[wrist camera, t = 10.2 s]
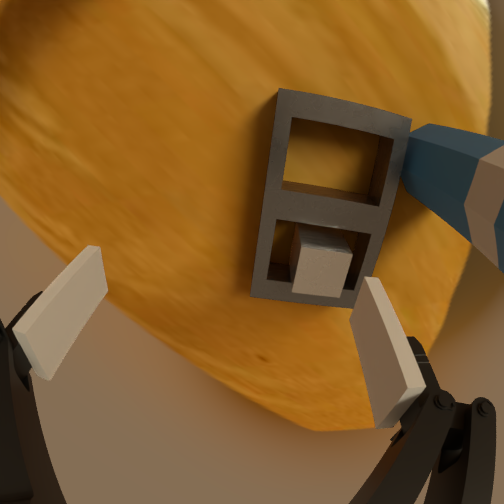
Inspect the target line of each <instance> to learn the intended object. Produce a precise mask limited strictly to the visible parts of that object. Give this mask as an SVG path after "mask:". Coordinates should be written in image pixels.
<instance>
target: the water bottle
mask: <svg viewBox="0 0 504 504" xmlns="http://www.w3.org/2000/svg"><path fill="white" fill-rule="evenodd" d="M401 178H402V181H403V183H404V186H405V188H406V191H407V192H408V193H409V194H410V195H412V196H413V197H415V198H416V199H417V200H419V201H420V202H421V203H423V204H424V205H425V206H427V207H428V208H429V209H430V210H432V211H433V212H434V213H436V214H437V215H438V216H439V217H441V218H442V219H443V220H444V221H446V222H447V223H448V224H449V225H450V226H452V227H453V228H454V229H455V230H457V231H458V232H459V233H460V234H461V235H462V236H464V237H465V238H466V239H467V240H468V241H469V242H470V243H472V244H473V245H474V246H475V247H476V248H477V249H478V250H479V251H481V252H482V253H483V254H484V255H485V256H486V257H487V258H488V259H489V260H490V261H491V262H493V264H494V265H496V266H497V267H498V268H499V269H500V270H501V271H502V272H503V273H504V141H503V140H500V139H496V138H492V137H489V136H485V135H481V134H477V133H473V132H469V131H464V130H460V129H455V128H450V127H445V126H440V125H435V124H427V125H425V126H423V127H421V128H419V129H417V130H415V131H413V132H411V133H409V138H408V143H407V148H406V153H405V158H404V162H403V167H402V171H401Z"/></svg>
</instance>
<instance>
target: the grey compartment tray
mask: <svg viewBox="0 0 504 504" xmlns="http://www.w3.org/2000/svg"><path fill="white" fill-rule="evenodd" d="M292 117H296V118H302V119H308V120H313V121H319V122H324V123H329V124H334V125H339V126H343V127H348V128H352V129H357V130H361V131H365V132H369V133H373V134H377V135H381V136H380V141H379V147H378V152H377V157H376V161H375V166H374V171H373V176H372V180H371V184H370V189H369V193H368V195H363V194H358V193H353V192H348V191H342V190H337V189H332V188H326V187H320V186H314V185H308V184H302V183H296V182H289V181H283V174H284V167H285V161H286V154H287V148H288V141H289V134H290V127H291V120H292ZM411 121H412V119H410V118H407V117H404V116H401V115H398V114H395V113H391V112H388V111H384V110H381V109H377V108H374V107H370V106H366V105H362V104H358V103H354V102H350V101H346V100H341V99H337V98H332V97H327V96H322V95H317V94H312V93H306V92H300V91H294V90H288V89H281V88H279V90H278V96H277V103H276V111H275V118H274V125H273V133H272V140H271V147H270V154H269V162H268V169H267V176H266V183H265V191H264V198H263V205H262V212H261V219H260V227H259V234H258V241H257V248H256V255H255V262H254V269H253V276H252V284H251V292H250V297H257V298H264V299H272V300H280V301H288V302H296V303H305V304H313V305H322V306H332V307H341V308H351V309H354V306H355V303H356V300H357V297H358V294H359V291H360V288H361V285H362V282H363V279H364V277H371V276H372V273H373V270H374V267H375V264H376V261H377V258H378V255H379V252H380V249H381V245H382V242H383V239H384V236H385V232H386V229H387V225H388V222H389V218H390V215H391V211H392V208H393V204H394V200H395V196H396V192H397V188H398V184H399V180H400V176H401V171H402V167H403V162H404V158H405V153H406V148H407V143H408V138H409V133H410V127H411ZM276 219H280V220H287V221H293V222H300V223H307V224H313V225H320V226H326V227H332V228H339V229H345V230H351V231H357V232H359V233H358V236H357V240H356V244H355V247H354V251H353V256H352V259H351V262H350V266H349V269H348V273H347V276H346V279H345V282H344V286H343V289H342V292H341V295H340V298H337V297H328V296H319V295H310V294H302V293H293V292H292V289H291V276H290V265H286V264H279V263H272V262H269V261H270V255H271V249H272V243H273V237H274V231H275V225H276Z"/></svg>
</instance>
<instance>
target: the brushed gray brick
mask: <svg viewBox="0 0 504 504" xmlns="http://www.w3.org/2000/svg"><path fill="white" fill-rule="evenodd" d="M352 256H353V254H352V252H351V250H350V247H349V245H348V243H347V241H346V239H345V237H344V235H343V233H342V231H341V229H339V228H332V227H326V226H320V225H313V224H307V223H300V222H296V225H295V231H294V236H293V241H292V247H291V252H290V257H289V264H290V276H291V289H292V292H293V293H302V294H310V295H319V296H328V297H337V298H340V295H341V292H342V289H343V286H344V282H345V279H346V276H347V273H348V269H349V266H350V262H351V259H352Z"/></svg>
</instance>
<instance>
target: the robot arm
mask: <svg viewBox="0 0 504 504" xmlns="http://www.w3.org/2000/svg"><path fill="white" fill-rule="evenodd" d="M107 292H108V288H107V283H106V278H105V272H104V267H103V261H102V255H101V249H100V247H98V246H90V245H88V246H87V247H86V248H85V249H84V250H83V251H82V252H81V253H80V254H79V255H78V256H77V257H76V258H75V259H74V260H73V261H72V262H71V263H70V264H69V265H68V266H67V267H66V268H65V269H64V270H63V271H62V272H61V273H60V274H59V276H58V277H57V278H56V279H55V280H54V281H53V282H52V283H51V284H50V285H49V286H48V287H47V288H46V290H45V291H44V292H43V291H41V292H39V293H38V294H36V295H34V296H33V297H32V298H31V299H30V300H29V301H28V302H27V303H26V305H25V306H24V307H23V308H22V309H21V311H20V312H19V313H18V314H17V315H16V316H15V317H14V319H13V320H12V321H11V322H10V323H9V325H8V326H7V327H6V328H4V326H3V323H2V321H1V319H0V504H67V503H66V501H65V499H64V496H63V494H62V491H61V489H60V486H59V483H58V481H57V478H56V475H55V473H54V469H53V466H52V464H51V460H50V457H49V454H48V450H47V447H46V444H45V440H44V436H43V433H42V429H41V425H40V420H39V416H38V411H37V407H36V402H35V397H34V392H33V385H32V379H31V376H30V374H29V370H30V369H31V368H33V370H34V371H35V373H36V375H37V376H39V377H41V378H43V379H46V380H48V381H50V380H51V379H52V377H53V375H54V373H55V372H56V370H57V368H58V367H59V365H60V363H61V361H62V360H63V358H64V357H65V355H66V354H67V352H68V350H69V349H70V347H71V346H72V344H73V342H74V341H75V339H76V338H77V336H78V335H79V333H80V331H81V330H82V328H83V327H84V325H85V324H86V322H87V321H88V319H89V318H90V316H91V315H92V313H93V312H94V310H95V309H96V307H97V306H98V305H99V303H100V302H101V300H102V299H103V298H104V296H105V295H106V293H107ZM349 320H350V324H351V328H352V331H353V335H354V338H355V342H356V346H357V350H358V354H359V357H360V361H361V365H362V369H363V373H364V377H365V382H366V386H367V390H368V394H369V399H370V403H371V408H372V412H373V417H374V422H375V427H376V429H381V428H391V427H394V425H395V424H396V423H397V422H398V421H399V420H400V423H401V426H402V427H401V429H400V430H399V431H398V432H397V433H396V434H395V435H394V436H393V437H392V438H391V439H390V440H391V441H392V442H391V444H390V446H389V447H388V449H387V450H386V452H385V454H384V455H383V457H382V458H381V460H380V461H379V463H378V464H377V466H376V467H375V469H374V470H373V472H372V473H371V475H370V476H369V478H368V479H367V480H366V482H365V483H364V484H363V486H362V487H361V488H360V490H359V491H358V492H357V494H356V495H355V496H354V498H353V499H352V500H351V501H350V503H349V504H414V502H415V501H416V499H417V497H418V495H419V493H420V492H421V490H422V488H423V486H424V484H425V482H426V480H427V478H428V476H429V474H430V472H431V470H432V473H431V477H430V482H429V486H428V490H427V493H426V497H425V501H424V504H491V497H492V490H493V481H494V471H495V456H496V411H495V407H494V406H493V404H492V403H491V402H490V401H489V400H488V399H486V398H483V397H479V398H476V399H475V400H474V401H473V402H472V404H464V403H458V402H455V399H454V398H453V396H452V395H451V394H449V393H448V392H447V391H444V390H441V389H440V387H439V384H438V381H437V379H436V377H435V374H434V372H433V369H432V367H431V365H430V363H429V360H428V358H427V356H426V353H425V351H424V349H423V347H422V345H421V344H420V342H419V341H418V340H417V339H416V338H415V337H406V336H405V333H404V331H403V329H402V326H401V324H400V322H399V320H398V318H397V315H396V313H395V311H394V309H393V307H392V305H391V303H390V300H389V298H388V296H387V294H386V292H385V290H384V288H383V286H382V284H381V282H380V280H379V278H374V277H364V279H363V282H362V285H361V288H360V291H359V294H358V297H357V300H356V303H355V306H354V309H353V311H352V314H351V317H350V319H349Z"/></svg>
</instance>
